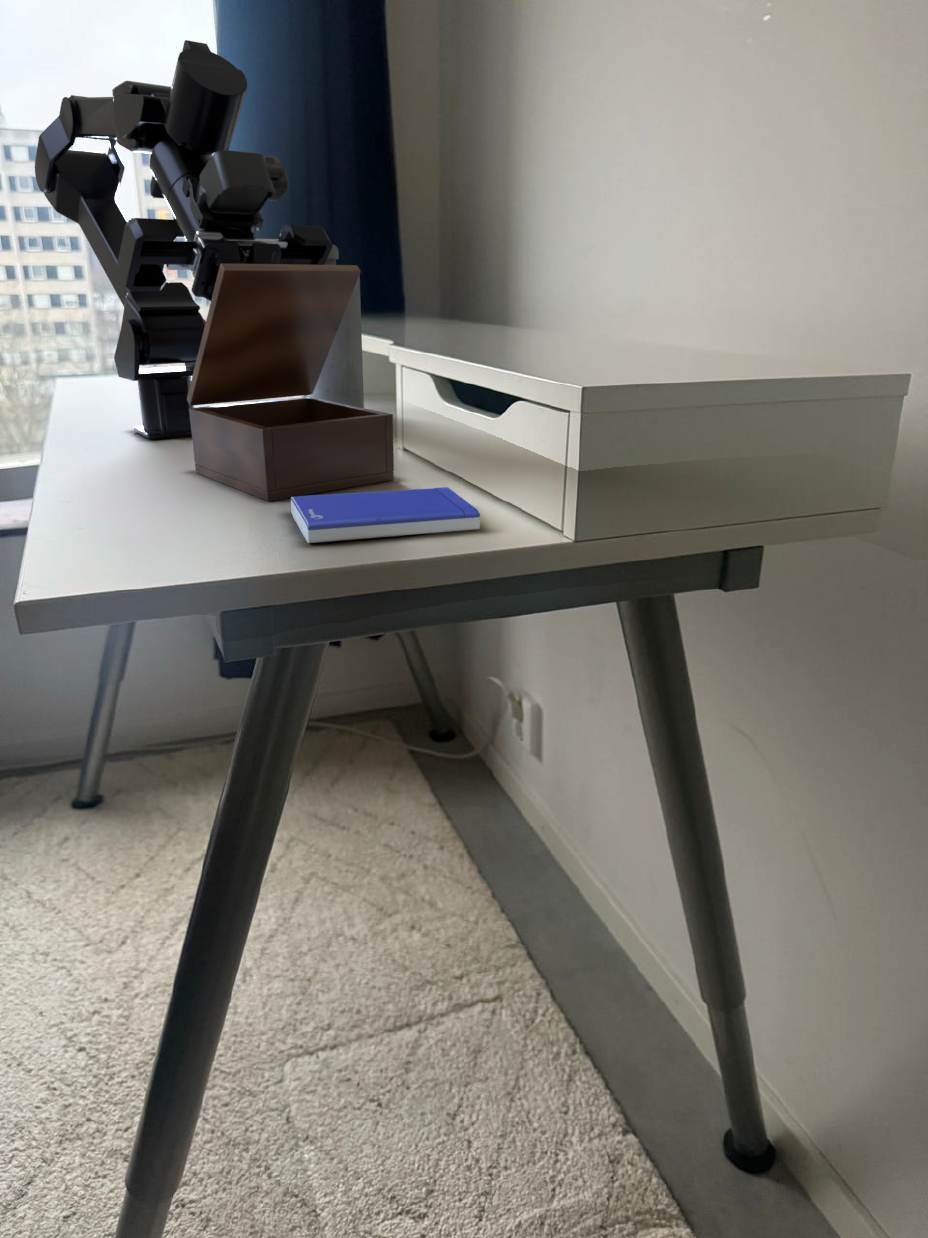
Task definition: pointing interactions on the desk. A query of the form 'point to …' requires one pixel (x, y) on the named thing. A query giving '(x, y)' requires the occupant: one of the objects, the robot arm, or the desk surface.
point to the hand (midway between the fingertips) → (267, 329)
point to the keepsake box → (292, 446)
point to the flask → (344, 355)
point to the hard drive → (382, 514)
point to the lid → (269, 330)
